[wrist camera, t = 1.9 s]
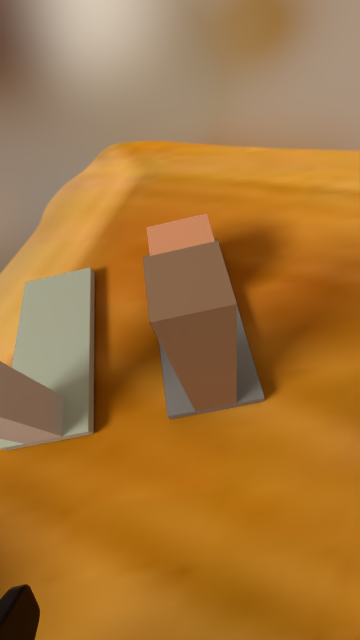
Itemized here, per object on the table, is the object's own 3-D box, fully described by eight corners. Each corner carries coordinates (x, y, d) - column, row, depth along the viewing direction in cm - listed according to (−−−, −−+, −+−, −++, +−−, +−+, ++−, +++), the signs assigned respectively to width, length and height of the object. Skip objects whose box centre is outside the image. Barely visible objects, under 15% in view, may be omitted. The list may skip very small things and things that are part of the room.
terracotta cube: (222, 297, 26) (219, 259, 21) (166, 310, 26) (152, 274, 22) (211, 255, 28) (206, 213, 24) (160, 267, 28) (146, 227, 24)
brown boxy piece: (263, 401, 22) (296, 291, 10) (170, 419, 22) (93, 334, 10) (217, 245, 30) (205, 82, 18) (150, 260, 30) (95, 111, 18)
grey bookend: (93, 433, 23) (-67, 368, 11) (7, 450, 23) (-240, 405, 11) (94, 273, 31) (4, 135, 19) (31, 288, 31) (-96, 162, 19)
